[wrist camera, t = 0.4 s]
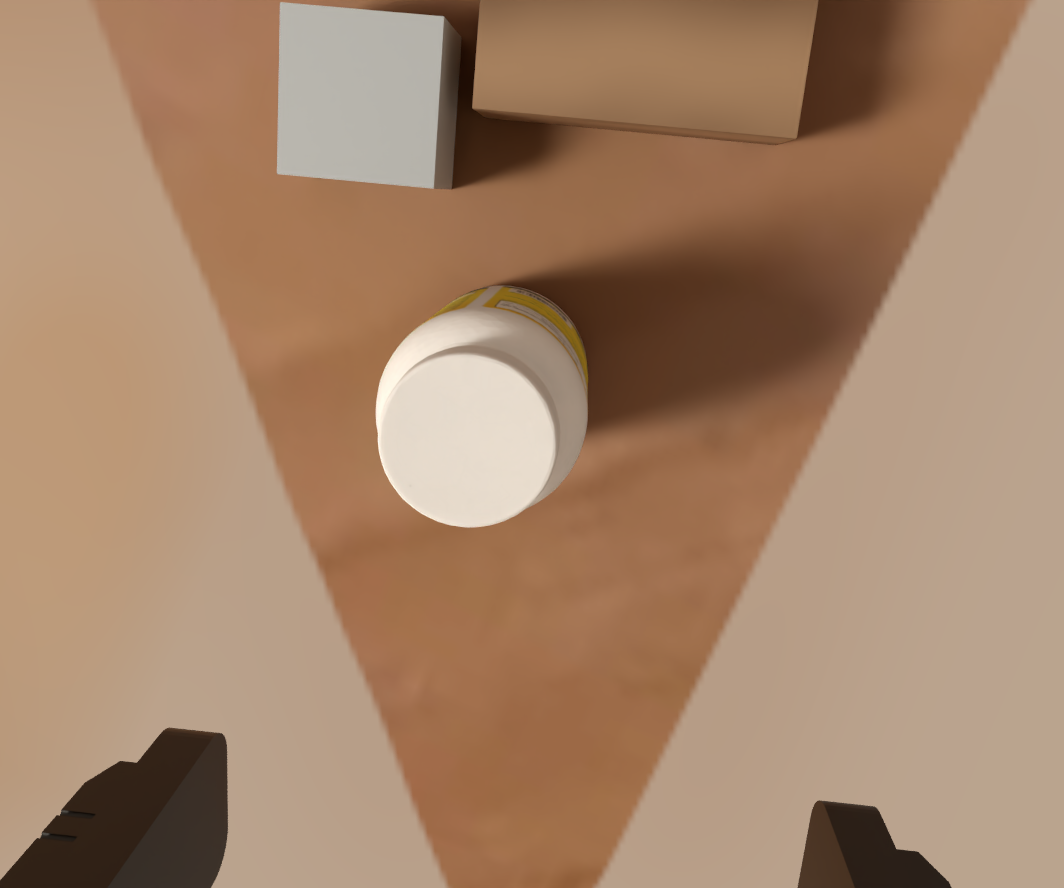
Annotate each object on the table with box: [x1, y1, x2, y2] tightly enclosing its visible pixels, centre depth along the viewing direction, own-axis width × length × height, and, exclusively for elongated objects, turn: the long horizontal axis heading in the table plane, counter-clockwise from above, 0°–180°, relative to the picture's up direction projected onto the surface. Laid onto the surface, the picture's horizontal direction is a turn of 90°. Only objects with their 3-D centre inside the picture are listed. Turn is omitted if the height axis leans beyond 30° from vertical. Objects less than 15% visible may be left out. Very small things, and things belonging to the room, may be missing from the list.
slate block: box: [277, 2, 462, 189], centre depth 31 cm, size 5×5×4 cm
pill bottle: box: [376, 285, 588, 527], centre depth 29 cm, size 6×6×11 cm
